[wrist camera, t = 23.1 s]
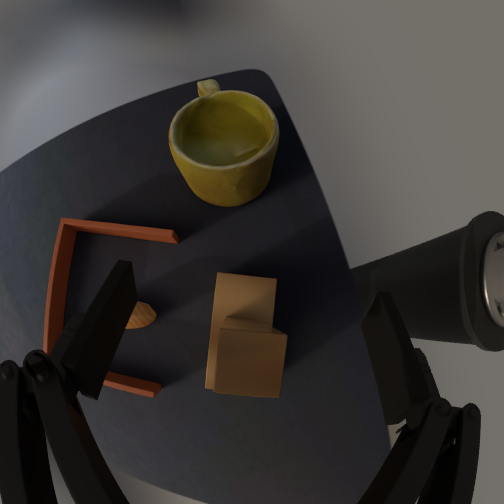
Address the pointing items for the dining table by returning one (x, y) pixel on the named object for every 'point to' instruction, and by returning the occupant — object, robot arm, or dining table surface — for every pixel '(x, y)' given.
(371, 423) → the dining table surface
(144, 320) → the sushi
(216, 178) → the mug
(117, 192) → the dining table surface
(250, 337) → the brown boxy piece
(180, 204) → the dining table surface
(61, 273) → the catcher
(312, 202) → the dining table surface
